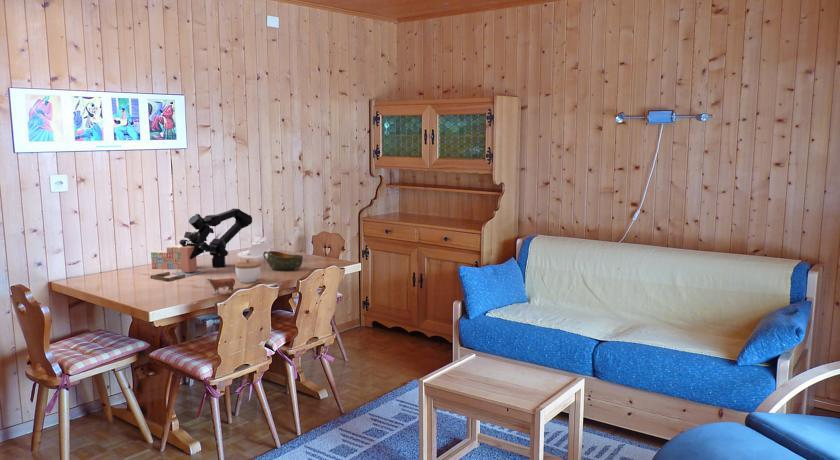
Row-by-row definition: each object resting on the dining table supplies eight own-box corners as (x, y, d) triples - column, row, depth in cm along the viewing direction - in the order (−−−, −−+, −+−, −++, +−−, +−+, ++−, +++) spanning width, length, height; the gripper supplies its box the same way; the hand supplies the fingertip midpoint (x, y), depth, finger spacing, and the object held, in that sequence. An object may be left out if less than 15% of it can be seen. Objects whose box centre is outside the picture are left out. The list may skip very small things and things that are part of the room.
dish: (250, 250, 424) (249, 233, 423) (286, 252, 418) (285, 234, 416) (229, 257, 401) (229, 238, 399) (267, 259, 394) (266, 240, 393)
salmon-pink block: (189, 269, 358) (188, 245, 356) (196, 270, 356) (195, 246, 354) (181, 271, 354) (180, 247, 352) (188, 272, 351) (187, 248, 349)
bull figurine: (206, 292, 312) (206, 275, 311) (236, 292, 313) (235, 275, 312) (204, 295, 308) (203, 277, 307) (234, 294, 309) (233, 277, 308)
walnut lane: (168, 274, 351) (168, 271, 351) (185, 277, 345) (185, 274, 344) (150, 278, 342) (150, 275, 342) (167, 281, 335) (167, 278, 335)
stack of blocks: (151, 268, 366) (150, 246, 364) (156, 266, 372) (155, 244, 371) (189, 269, 365) (188, 247, 363) (194, 267, 371) (193, 245, 369)
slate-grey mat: (190, 270, 363) (190, 269, 363) (205, 272, 357) (205, 271, 357) (172, 274, 353) (172, 273, 353) (187, 276, 347) (187, 275, 347)
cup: (279, 265, 376) (278, 247, 374) (305, 270, 365) (305, 251, 363) (262, 269, 365) (261, 251, 364) (288, 274, 354) (288, 255, 353)
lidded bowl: (266, 281, 337) (265, 259, 335) (244, 285, 328) (243, 263, 326) (251, 277, 345) (251, 256, 344) (230, 281, 336) (229, 259, 334)
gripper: (181, 224, 359) (165, 247, 351) (205, 227, 350) (189, 251, 342) (193, 236, 367) (178, 259, 359) (217, 239, 358) (202, 263, 350)
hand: (186, 258), depth 352 cm, fingers closed on salmon-pink block, 5 cm apart
